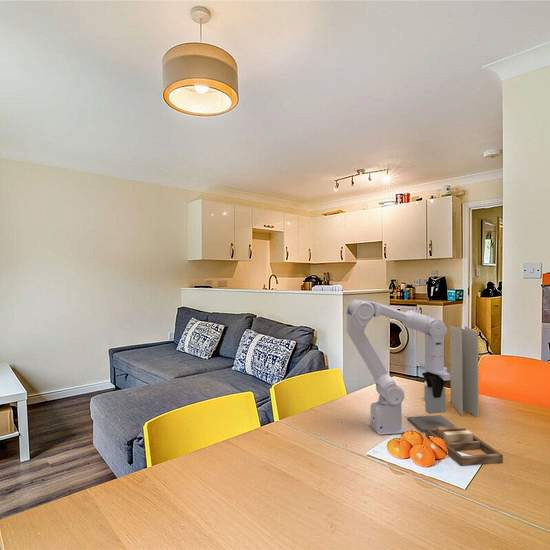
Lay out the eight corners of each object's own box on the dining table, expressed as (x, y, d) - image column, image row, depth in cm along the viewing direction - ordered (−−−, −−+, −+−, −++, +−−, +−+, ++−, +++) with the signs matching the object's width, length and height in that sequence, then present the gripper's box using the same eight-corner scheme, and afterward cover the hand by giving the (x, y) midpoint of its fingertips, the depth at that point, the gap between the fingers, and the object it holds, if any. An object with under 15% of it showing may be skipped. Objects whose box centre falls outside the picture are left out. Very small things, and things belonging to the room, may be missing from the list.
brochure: (478, 417, 127) (478, 332, 127) (461, 416, 129) (461, 331, 128) (466, 403, 141) (465, 326, 141) (450, 402, 142) (450, 325, 142)
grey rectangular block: (428, 413, 119) (427, 389, 119) (425, 411, 121) (424, 387, 121) (446, 412, 119) (445, 388, 119) (442, 410, 121) (441, 386, 121)
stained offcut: (440, 443, 110) (440, 429, 110) (436, 439, 112) (436, 427, 111) (465, 441, 110) (465, 428, 110) (461, 438, 112) (461, 425, 112)
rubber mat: (422, 432, 116) (422, 429, 116) (407, 419, 126) (407, 417, 126) (457, 430, 118) (457, 427, 118) (440, 417, 128) (440, 415, 128)
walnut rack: (461, 465, 96) (461, 458, 96) (425, 435, 114) (425, 429, 114) (502, 462, 98) (502, 455, 98) (461, 433, 116) (461, 426, 116)
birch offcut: (447, 448, 106) (447, 435, 106) (443, 445, 108) (443, 432, 108) (472, 446, 107) (472, 433, 107) (468, 443, 109) (468, 430, 109)
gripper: (459, 359, 113) (459, 403, 113) (434, 349, 127) (434, 388, 128) (437, 360, 112) (438, 404, 112) (414, 350, 127) (415, 389, 127)
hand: (435, 396), depth 120 cm, fingers closed on grey rectangular block, 2 cm apart
